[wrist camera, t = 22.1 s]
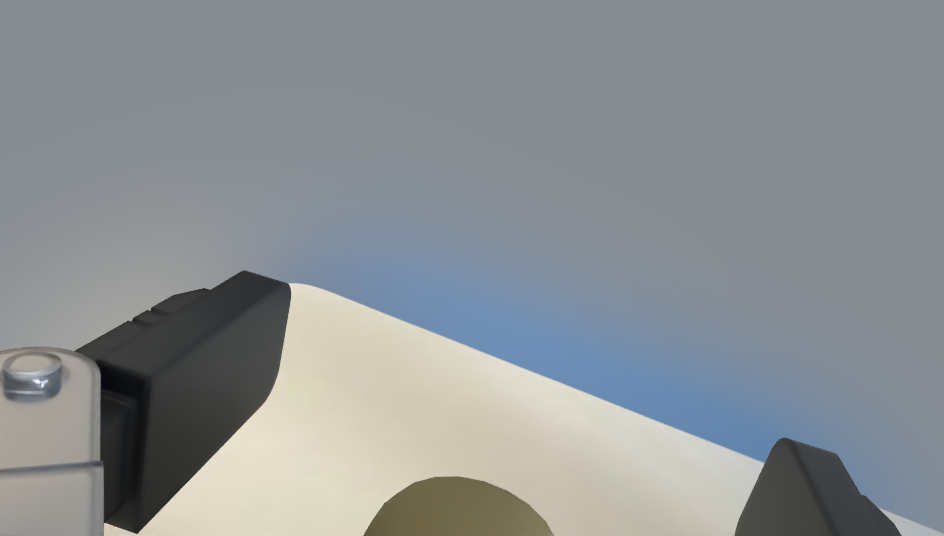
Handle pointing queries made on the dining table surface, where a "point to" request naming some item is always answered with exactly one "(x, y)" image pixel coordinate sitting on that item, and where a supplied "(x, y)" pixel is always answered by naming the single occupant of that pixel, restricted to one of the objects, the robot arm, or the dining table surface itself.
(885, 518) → the robot arm
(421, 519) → the game pawn
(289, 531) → the dining table surface
